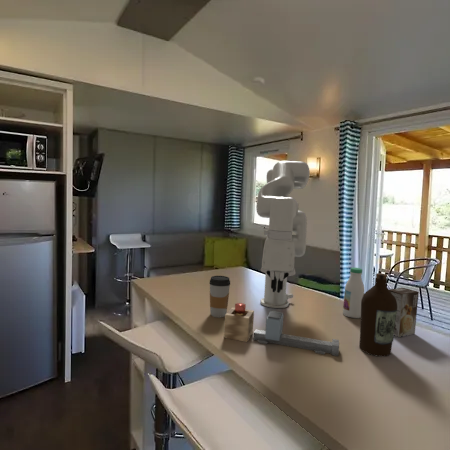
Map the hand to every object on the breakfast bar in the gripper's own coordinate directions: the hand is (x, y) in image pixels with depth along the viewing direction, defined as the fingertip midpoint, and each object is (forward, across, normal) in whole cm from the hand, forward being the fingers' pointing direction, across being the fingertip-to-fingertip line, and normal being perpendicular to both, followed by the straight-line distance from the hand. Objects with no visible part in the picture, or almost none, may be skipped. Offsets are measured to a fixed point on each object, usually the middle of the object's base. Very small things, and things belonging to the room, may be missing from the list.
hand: (276, 291), depth 112 cm
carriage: (+15, 0, 0) cm, 15 cm away
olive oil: (+17, +32, +7) cm, 37 cm away
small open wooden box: (+17, -12, 0) cm, 21 cm away
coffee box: (+17, +42, +27) cm, 53 cm away
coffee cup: (+17, -25, +16) cm, 34 cm away
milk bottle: (+17, +26, +39) cm, 50 cm away
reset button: (+12, -12, 0) cm, 17 cm away
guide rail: (+17, +6, 0) cm, 18 cm away
